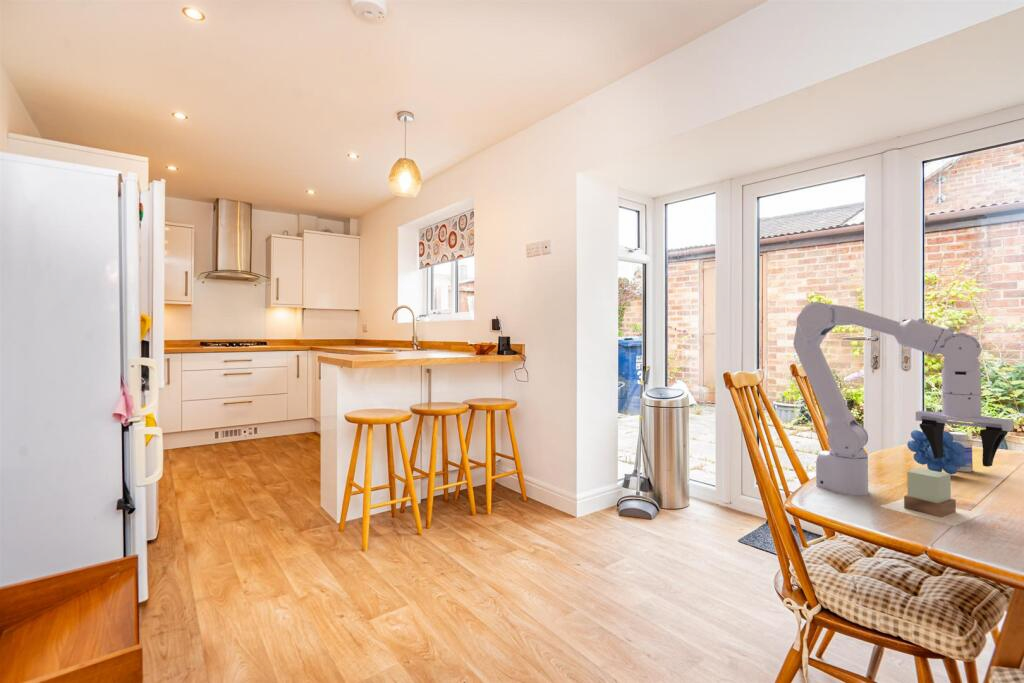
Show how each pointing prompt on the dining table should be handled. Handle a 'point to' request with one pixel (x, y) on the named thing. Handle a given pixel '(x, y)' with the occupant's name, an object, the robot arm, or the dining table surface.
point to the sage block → (929, 485)
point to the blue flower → (926, 455)
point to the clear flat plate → (950, 519)
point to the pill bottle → (967, 454)
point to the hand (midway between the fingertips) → (962, 461)
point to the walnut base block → (930, 506)
